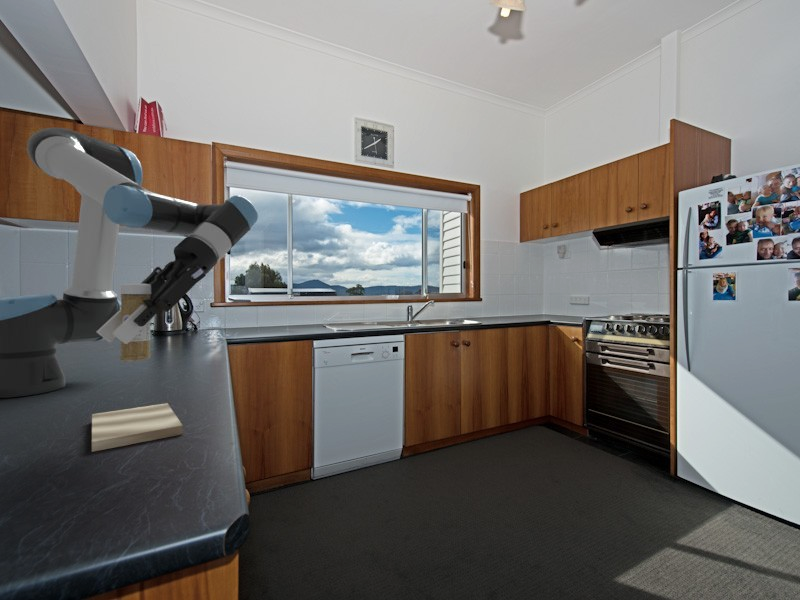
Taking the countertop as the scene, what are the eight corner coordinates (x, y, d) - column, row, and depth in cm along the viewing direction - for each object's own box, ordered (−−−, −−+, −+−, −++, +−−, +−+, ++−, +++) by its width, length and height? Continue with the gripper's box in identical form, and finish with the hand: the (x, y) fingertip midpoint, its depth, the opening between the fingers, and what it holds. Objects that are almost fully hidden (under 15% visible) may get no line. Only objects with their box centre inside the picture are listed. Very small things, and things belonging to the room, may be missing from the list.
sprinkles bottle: (115, 362, 65) (115, 282, 65) (125, 358, 69) (125, 283, 69) (146, 361, 66) (146, 283, 66) (154, 356, 71) (154, 283, 70)
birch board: (92, 422, 71) (92, 414, 71) (167, 410, 78) (167, 403, 78) (91, 451, 58) (91, 441, 58) (182, 434, 65) (182, 425, 65)
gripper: (242, 262, 77) (157, 355, 63) (188, 265, 85) (103, 348, 71) (218, 231, 72) (121, 325, 58) (164, 238, 81) (67, 321, 66)
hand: (111, 337), depth 64 cm, fingers closed on sprinkles bottle, 4 cm apart
